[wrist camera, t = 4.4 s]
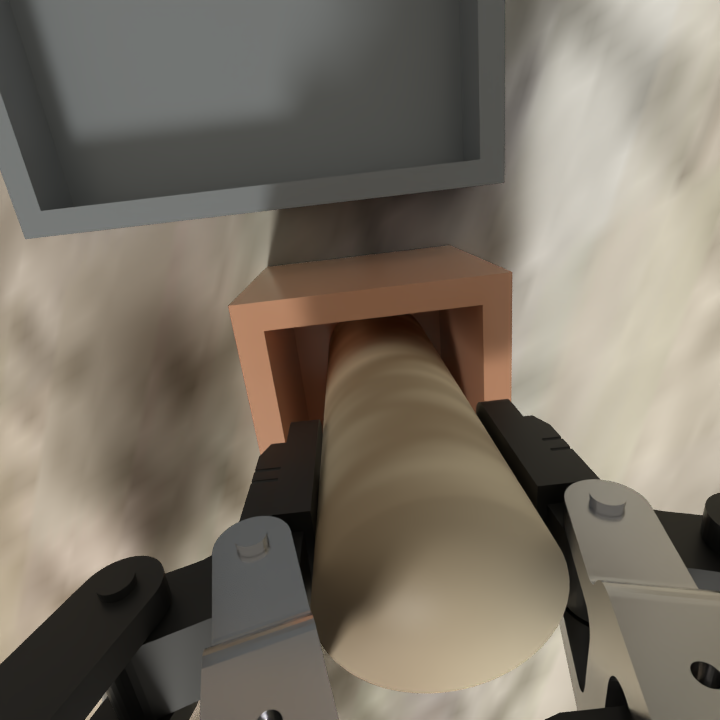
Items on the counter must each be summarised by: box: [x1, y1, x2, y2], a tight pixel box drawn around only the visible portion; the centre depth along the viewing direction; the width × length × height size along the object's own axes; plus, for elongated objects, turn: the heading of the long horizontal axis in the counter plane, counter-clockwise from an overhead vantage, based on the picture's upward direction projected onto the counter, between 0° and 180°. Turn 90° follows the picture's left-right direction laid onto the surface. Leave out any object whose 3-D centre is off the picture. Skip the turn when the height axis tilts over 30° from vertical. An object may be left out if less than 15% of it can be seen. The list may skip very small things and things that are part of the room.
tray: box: [0, 0, 505, 239], centre depth 14 cm, size 16×12×3 cm
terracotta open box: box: [228, 245, 512, 455], centre depth 16 cm, size 8×8×7 cm
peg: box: [310, 314, 569, 693], centre depth 13 cm, size 4×4×12 cm
